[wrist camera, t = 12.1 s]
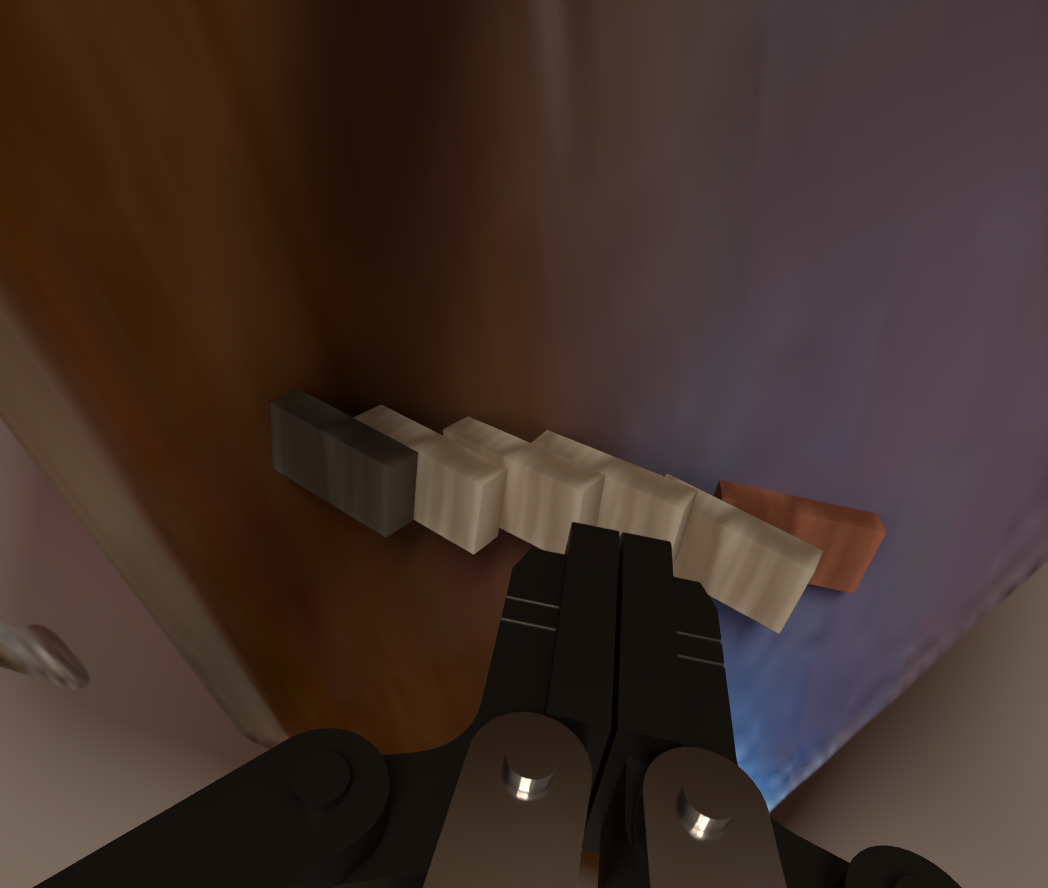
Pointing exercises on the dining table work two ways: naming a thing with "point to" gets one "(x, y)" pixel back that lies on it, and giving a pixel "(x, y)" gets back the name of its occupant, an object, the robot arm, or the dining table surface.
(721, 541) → the domino
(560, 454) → the domino
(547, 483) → the domino
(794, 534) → the domino
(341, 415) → the domino
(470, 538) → the domino
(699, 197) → the dining table surface
